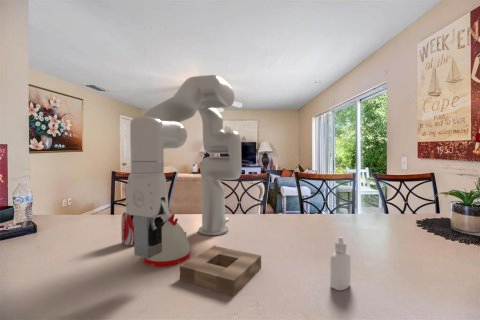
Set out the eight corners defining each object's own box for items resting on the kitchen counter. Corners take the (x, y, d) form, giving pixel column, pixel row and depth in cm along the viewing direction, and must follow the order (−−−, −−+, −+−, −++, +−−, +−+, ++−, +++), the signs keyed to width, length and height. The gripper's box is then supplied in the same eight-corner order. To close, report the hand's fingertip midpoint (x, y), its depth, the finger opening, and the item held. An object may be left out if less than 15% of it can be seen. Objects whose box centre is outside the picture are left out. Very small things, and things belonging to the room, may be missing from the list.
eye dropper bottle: (325, 282, 62) (325, 234, 61) (346, 280, 62) (346, 234, 62) (334, 291, 57) (334, 240, 57) (356, 290, 58) (356, 239, 58)
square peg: (149, 248, 63) (148, 210, 63) (161, 251, 61) (161, 212, 61) (134, 255, 59) (133, 214, 59) (147, 258, 57) (147, 216, 57)
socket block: (214, 256, 77) (214, 245, 77) (261, 267, 69) (261, 255, 69) (179, 279, 63) (179, 265, 63) (234, 295, 55) (234, 280, 55)
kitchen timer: (167, 246, 86) (167, 204, 86) (198, 253, 80) (198, 207, 79) (133, 261, 74) (133, 211, 73) (167, 271, 67) (167, 217, 67)
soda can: (134, 247, 84) (134, 213, 84) (117, 246, 86) (116, 212, 86) (146, 240, 91) (146, 208, 91) (129, 239, 93) (129, 208, 93)
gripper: (111, 168, 60) (112, 241, 60) (161, 170, 52) (162, 254, 53) (136, 166, 67) (137, 232, 67) (184, 168, 59) (185, 243, 59)
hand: (148, 241), depth 60 cm, fingers closed on square peg, 4 cm apart
